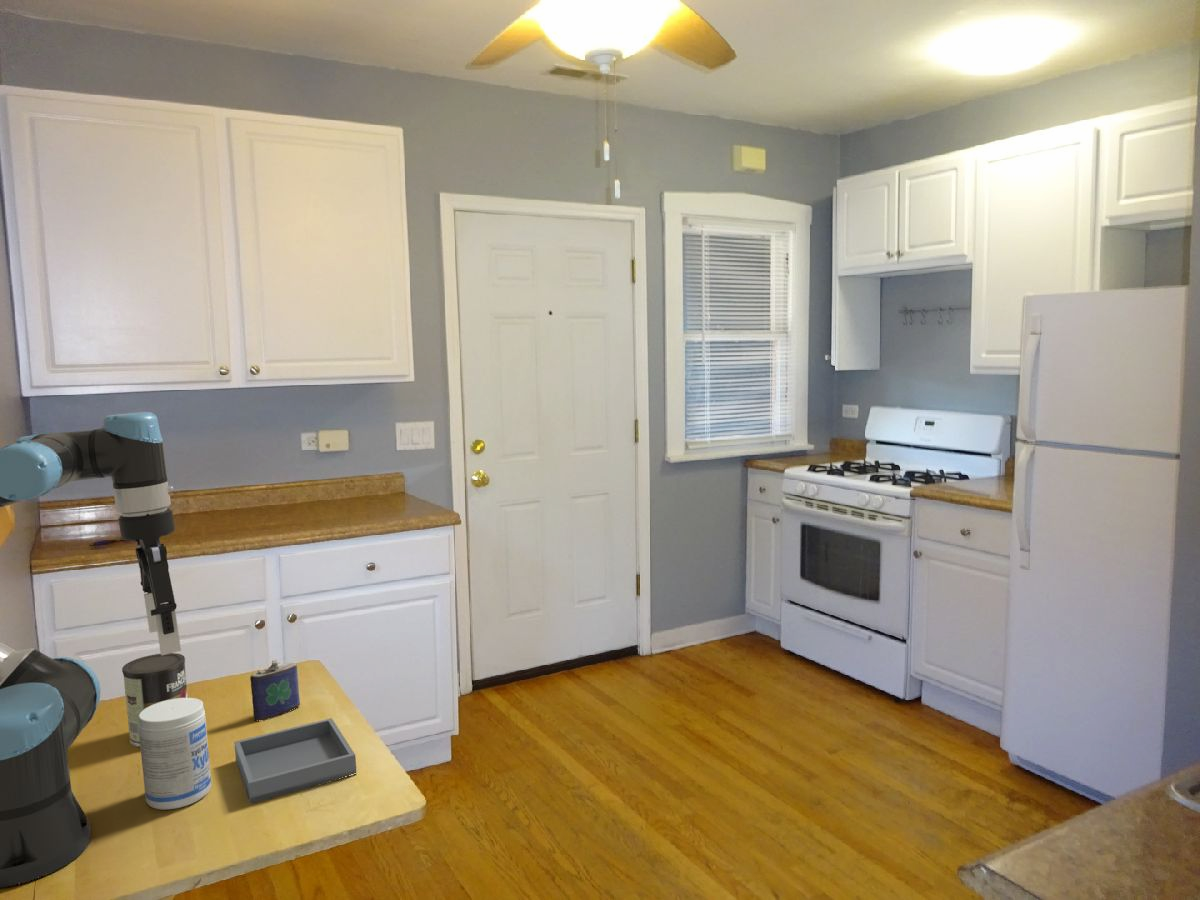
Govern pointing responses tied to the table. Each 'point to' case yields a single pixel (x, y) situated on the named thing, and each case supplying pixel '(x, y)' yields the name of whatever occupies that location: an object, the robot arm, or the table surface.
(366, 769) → the table surface
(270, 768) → the tray
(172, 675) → the coffee can
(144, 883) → the table surface
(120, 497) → the robot arm
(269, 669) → the flask
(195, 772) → the supplement tub
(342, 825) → the table surface
